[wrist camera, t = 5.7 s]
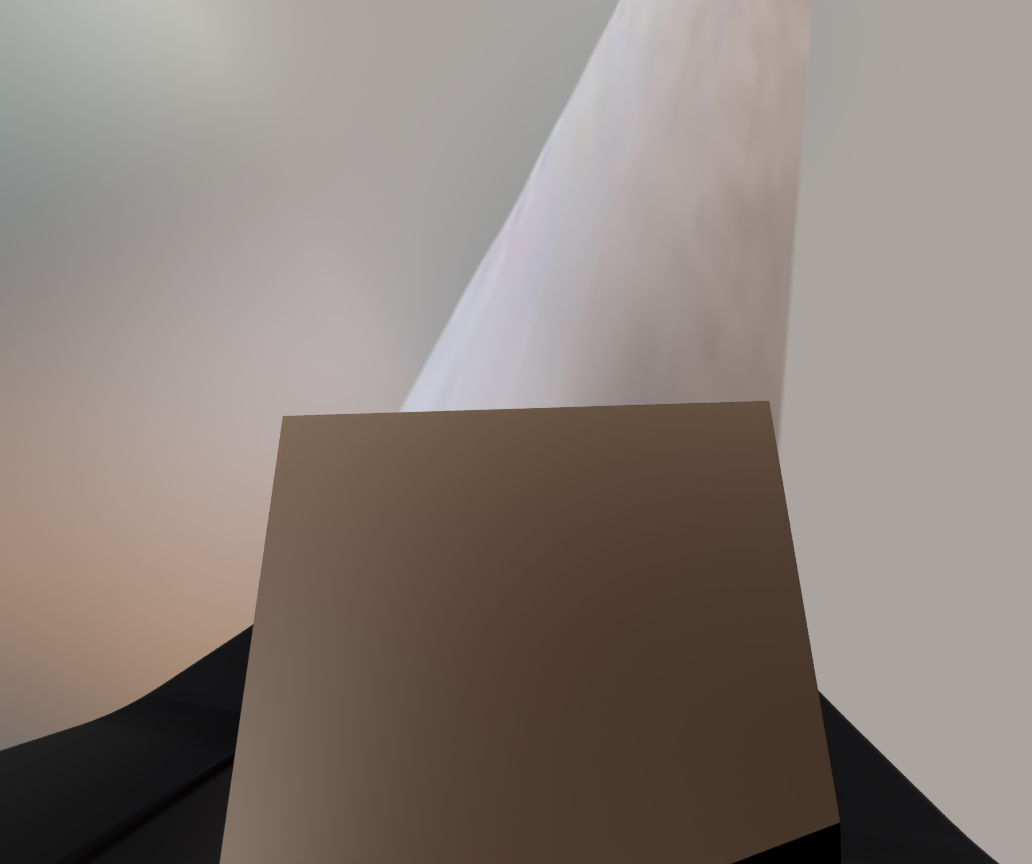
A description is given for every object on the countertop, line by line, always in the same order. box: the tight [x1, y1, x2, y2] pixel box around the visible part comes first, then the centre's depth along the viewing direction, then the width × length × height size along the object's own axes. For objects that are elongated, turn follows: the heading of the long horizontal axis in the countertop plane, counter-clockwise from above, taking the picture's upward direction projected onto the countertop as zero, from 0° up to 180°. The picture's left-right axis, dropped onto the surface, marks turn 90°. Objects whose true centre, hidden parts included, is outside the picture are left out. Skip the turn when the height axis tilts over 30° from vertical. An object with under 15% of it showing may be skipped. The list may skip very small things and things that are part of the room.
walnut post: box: [220, 401, 841, 864], centre depth 9 cm, size 4×4×13 cm
